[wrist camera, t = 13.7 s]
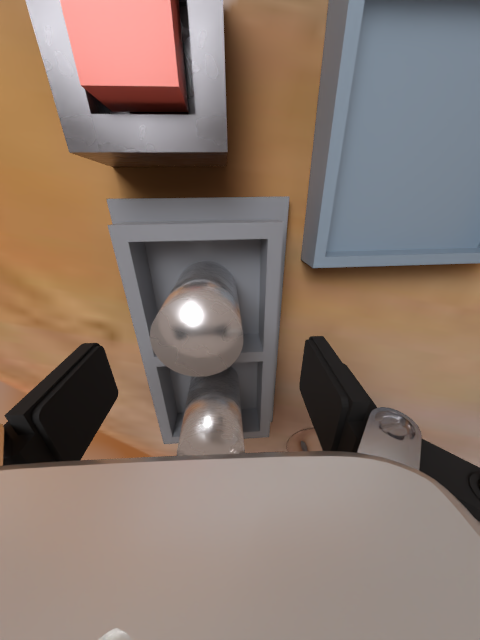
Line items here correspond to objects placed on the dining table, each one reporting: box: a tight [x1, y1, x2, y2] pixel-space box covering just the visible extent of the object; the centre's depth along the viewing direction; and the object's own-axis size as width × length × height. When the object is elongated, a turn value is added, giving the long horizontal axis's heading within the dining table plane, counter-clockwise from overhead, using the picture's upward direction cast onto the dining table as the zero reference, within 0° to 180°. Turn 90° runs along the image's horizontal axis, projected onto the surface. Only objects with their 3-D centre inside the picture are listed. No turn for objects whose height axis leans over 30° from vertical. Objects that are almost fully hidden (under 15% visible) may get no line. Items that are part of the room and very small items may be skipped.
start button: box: [60, 0, 189, 112], centre depth 10 cm, size 4×4×3 cm
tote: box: [301, 0, 480, 268], centre depth 15 cm, size 16×16×3 cm
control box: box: [25, 0, 228, 167], centre depth 12 cm, size 8×8×5 cm
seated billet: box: [177, 366, 245, 456], centre depth 20 cm, size 5×5×8 cm
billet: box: [150, 261, 243, 377], centre depth 16 cm, size 5×5×8 cm
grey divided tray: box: [107, 197, 289, 444], centre depth 21 cm, size 13×24×4 cm, turn 1°
